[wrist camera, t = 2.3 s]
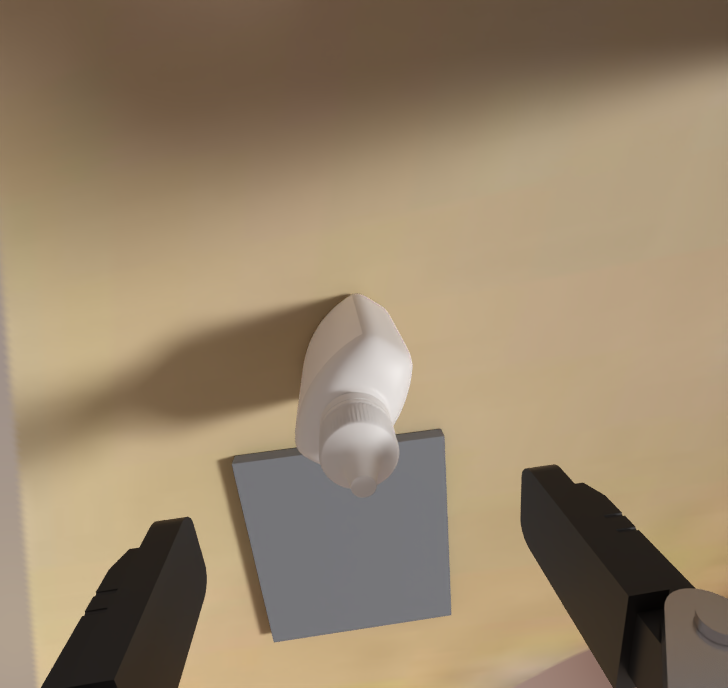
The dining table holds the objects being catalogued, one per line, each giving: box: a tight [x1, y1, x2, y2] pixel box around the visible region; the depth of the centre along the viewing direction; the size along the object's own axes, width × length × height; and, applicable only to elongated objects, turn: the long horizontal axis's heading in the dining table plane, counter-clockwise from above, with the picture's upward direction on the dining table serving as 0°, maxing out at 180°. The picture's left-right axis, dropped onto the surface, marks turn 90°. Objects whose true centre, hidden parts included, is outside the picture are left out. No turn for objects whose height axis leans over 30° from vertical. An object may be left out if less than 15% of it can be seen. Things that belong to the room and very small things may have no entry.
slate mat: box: [232, 429, 451, 642], centre depth 26 cm, size 14×12×1 cm
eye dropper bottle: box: [295, 293, 412, 498], centre depth 17 cm, size 4×6×12 cm
